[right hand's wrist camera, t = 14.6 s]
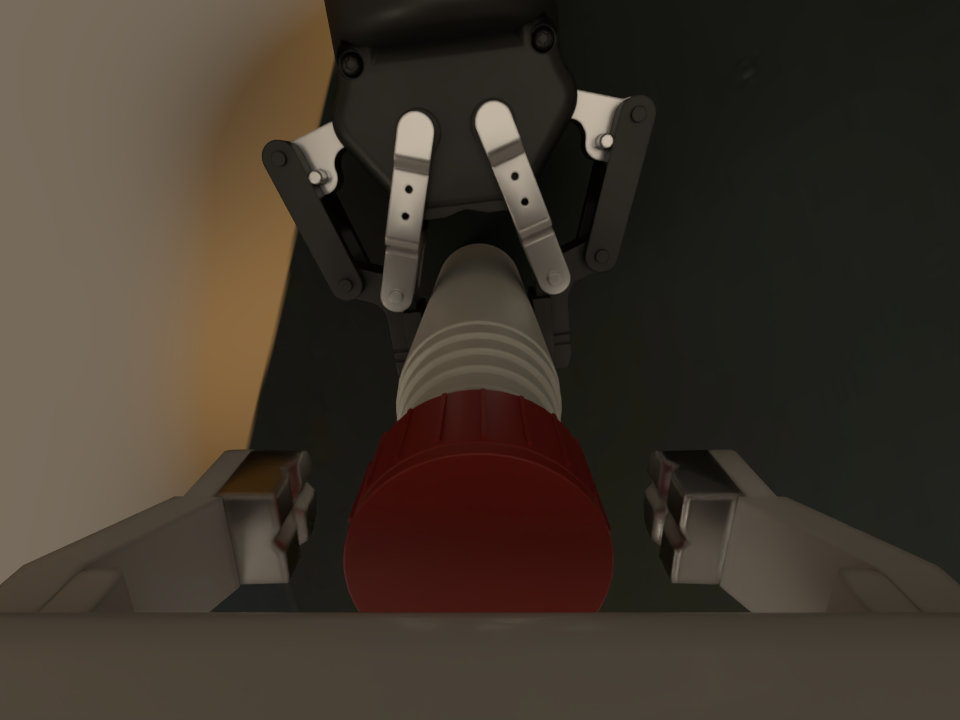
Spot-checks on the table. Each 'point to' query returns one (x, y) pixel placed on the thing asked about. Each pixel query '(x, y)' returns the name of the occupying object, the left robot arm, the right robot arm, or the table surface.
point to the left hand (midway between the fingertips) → (487, 381)
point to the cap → (478, 513)
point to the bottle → (479, 336)
